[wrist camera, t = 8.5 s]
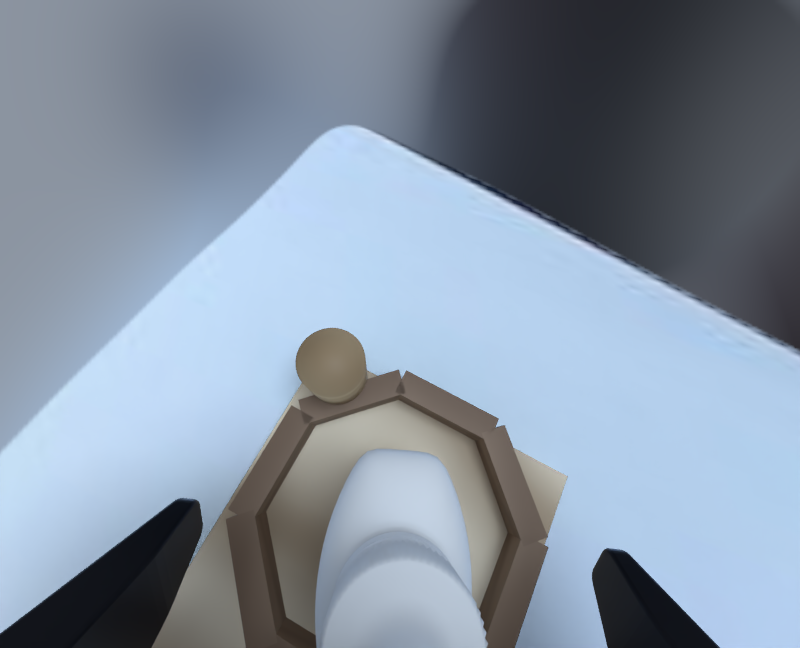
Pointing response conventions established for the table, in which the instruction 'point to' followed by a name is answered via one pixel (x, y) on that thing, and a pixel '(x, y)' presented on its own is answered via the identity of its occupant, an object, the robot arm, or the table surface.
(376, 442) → the board
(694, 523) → the table surface
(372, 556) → the eye dropper bottle
